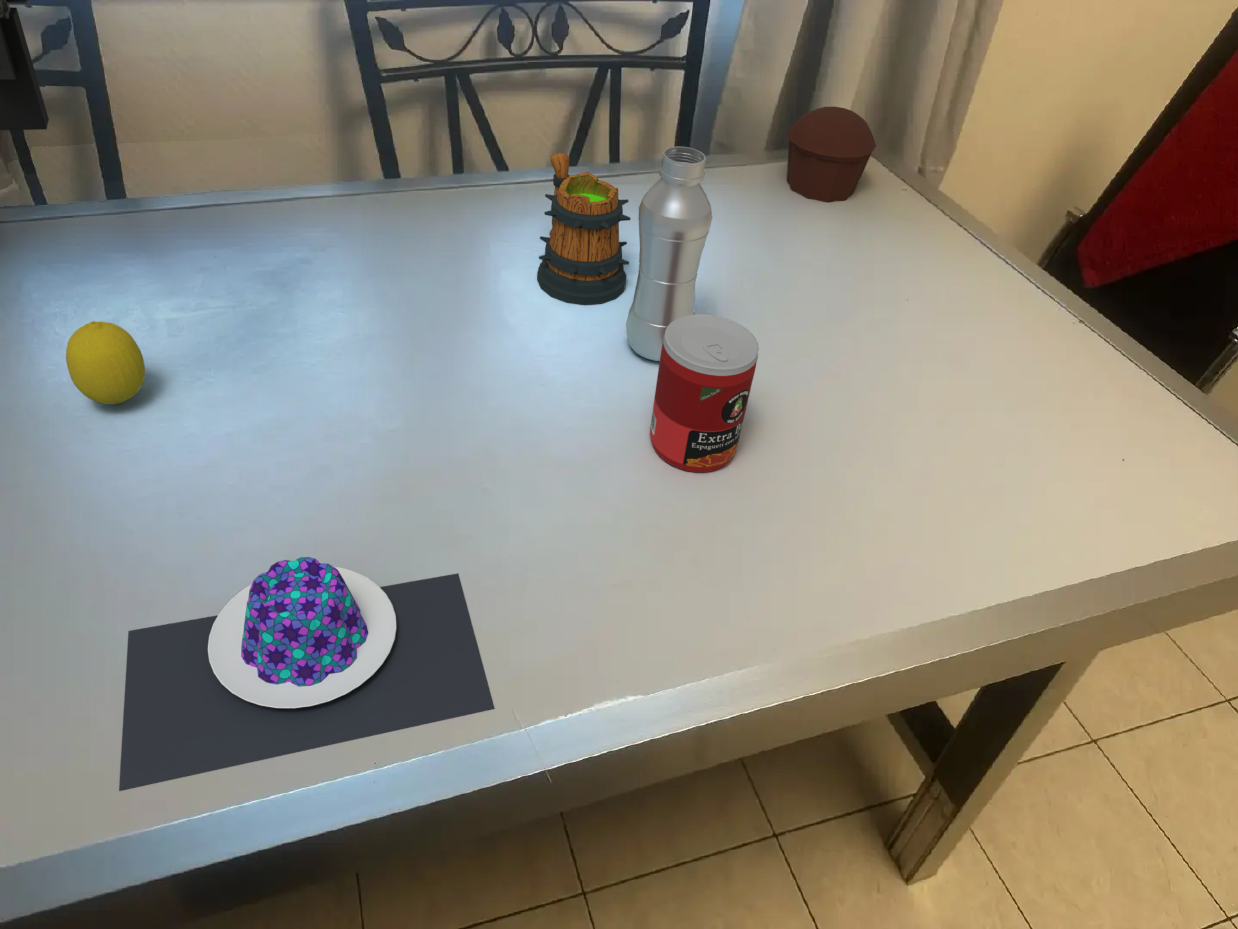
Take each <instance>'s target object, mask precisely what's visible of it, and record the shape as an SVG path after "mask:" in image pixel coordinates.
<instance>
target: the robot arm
mask: <svg viewBox="0 0 1238 929" xmlns="http://www.w3.org/2000/svg"><path fill="white" fill-rule="evenodd" d="M10 4H22V5H24V4H27V5H28V4H30V0H0V131H34V130H35V131H36V130H47V129H48V125H49V120H50V118H49V115H48V112H47V108H46V105H45V101H44V97H43V93H42V90H41V87H40V83H39V81H38V76H37V73H36V70H35V67H34V63H33V59H32V56H31V52H30V49H29V46H28V42H27V39H26V37H25V32H24V29H23V26H22V21H21V19H20V15H19V14H20V13H19V12H18V8H17V7H11V6H10Z"/></svg>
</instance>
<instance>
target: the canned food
mask: <svg viewBox="0 0 1238 929" xmlns="http://www.w3.org/2000/svg"><path fill="white" fill-rule="evenodd" d="M759 349H760V347H759V342H758V340H757V337H755V335H754V334H753V333H752V332H751V331H750V330H748V329H747V328H746V327H745V326H743V325H742V324H740V323H738V322H736V321H734V320H732V319H729V318H726V317H724V316H719V315H715V314H708V313H707V314H706V313H705V314H704V313H694V315H687V316H683V317H680V318H678V319H676V320H674V321H673V322H671V323H670V324H669V325H668V327H667V328H666V331H665V335H664V337H663V343H662V349H661V355H660V361H659V364H658V371H657V377H656V385H655V391H654V399H653V406H652V412H651V419H650V421H651V422H650V427H649V437H650V441H651V445H652V448H653V450H654V452H655V453H656V455H658V457H660V459H661V460H663V461H664V462H666V463H667V464H669V465H670V466H672V467H675V468H676V469H679V470H683V471H686V472H692V473H709V472H713V471H717V470H720V469H721V468H723V467H725V466H726V465H728V463H730V461H731V460H732V459H733V457H734V455H735V453H736V452H737V449H738V445H739V442H740V436H741V432H742V428H743V424H744V419H745V415H746V411H747V406H748V402H749V398H750V394H751V389H752V385H753V382H754V376H755V372H756V369H757V362H758V359H759Z"/></svg>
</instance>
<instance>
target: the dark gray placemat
mask: <svg viewBox="0 0 1238 929" xmlns="http://www.w3.org/2000/svg"><path fill="white" fill-rule="evenodd" d="M379 587H380V588H381V589H382V590H383V591H384V592H385V593H386V595H387V597H388V598H389V600H390V602H391V603H392V606H393V609H394V612H395V615H396V633H395V639H394V642H393V645H392V647H391V650H390V652H389V654H388V656H387V657H386V659H385V660H384V662H383V664H382V665H381V666H380V667H379V668H378V669H377V670H376V672H375V673H374V674H373V675H372V676H371V677H369V678H368V679H367V680H366V681H365V682H363V683H362V684H361V685H360V686H358V687H356V688H355V689H353V690H351V691H350V692H348V693H346V694H345V695H342V696H340V697H338V698H335V699H333V700H330V701H328V702H324V703H320V704H317V705H313V706H307V707H299V708H274V707H267V706H261V705H258V704H255V703H252V702H249V701H246V700H244V699H242V698H240V697H238V696H237V695H235V694H233V693H232V692H231V691H229V690H228V689H227V688H226V687H225V686H224V685H222V684H221V682H220V681H219V679H218V678H217V677H216V675H215V674H214V672H213V669H212V667H211V664H210V662H209V655H208V642H209V635H210V632H211V629H212V626H213V624H214V622H215V620H216V618H217V617H218V615H219V614H217V615H212V616H206V617H200V618H195V619H189V620H182V621H177V622H172V623H165V624H160V625H154V626H147V627H144V628H138V629H131V630H128V634H127V647H126V648H127V651H126V664H125V666H126V667H125V682H124V685H125V686H124V701H123V715H122V716H123V717H122V733H121V734H122V735H121V749H120V769H119V785H118V792H122V791H126V790H132V789H135V788H141V787H145V786H149V785H154V784H158V783H163V782H168V781H172V780H177V779H181V778H186V777H191V776H196V775H200V774H204V773H205V774H206V773H210V772H213V771H218V770H222V769H223V770H224V769H227V768H228V769H229V768H232V767H237V766H240V765H246V764H250V763H255V762H259V761H263V760H269V759H273V758H277V757H282V756H286V755H291V754H296V753H301V752H305V751H309V750H315V749H318V748H323V747H328V746H333V745H337V744H341V743H345V742H351V741H355V740H360V739H365V738H369V737H373V736H379V735H383V734H387V733H392V732H396V731H401V730H405V729H410V728H415V727H418V726H419V727H420V726H424V725H428V724H433V723H436V722H441V721H446V720H452V719H455V718H461V717H465V716H468V715H473V714H478V713H484V712H487V711H492V710H495V709H496V708H495V704H494V701H493V698H492V694H491V689H490V686H489V682H488V679H487V675H486V671H485V668H484V663H483V661H482V657H481V652H480V649H479V646H478V642H477V638H476V634H475V631H474V627H473V623H472V619H471V615H470V611H469V608H468V604H467V601H466V597H465V593H464V590H463V585H462V582H461V578H460V575H459V573H451V574H447V575H440V576H435V577H428V578H424V579H417V580H412V581H407V582H400V583H395V584H389V585H383V586H379Z"/></svg>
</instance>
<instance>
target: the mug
mask: <svg viewBox="0 0 1238 929" xmlns="http://www.w3.org/2000/svg"><path fill="white" fill-rule="evenodd" d="M549 161H550V165H551V166H552V169H553V170H554V174H553V175H552V176H553V178H552V185H553V186H554V191H553V194H549V193H546V194H544V197H545V198H547V199H548V200H549V201H551V205H550V210H547V211H544V212H543V213H544V216H548V217H551V228H550V231H549V233H548V235H549V237H548V236H539V240H541V241H543V242H544V243H545V247H544V254H543V255H539V256H538V259H539V260H540V261H541V260H542V261H541V262H540V263H539V266H538V269H537V271H536V281H537V283H538V286H539V287H540V289H541V290H542V291H543V292H544V293H546V294H547V295H548V296H550V297H551V298H553V299H556V300H558V301H562V302H564V303H568V304H573V305H574V304H575V305H580V306H581V305H583V306H589V305H590V306H591V305H601V304H605V303H608V302H610V301H614V300H616V299H617V298H618V297H620V295H622V294H623V293H624V292H625V289H626V284H627V277H628V276H627V273H626V272H625V269H624V268H625V265H626V266H627V265H630V262H629V260H626V259H624V258H623V247H624V246H626V245H627V244H628V242H627V241H620V222H625V221H631V219H632V218H631V217H630V216H628V215H626V214H624V208H623V206H624V205H626V204H627V203H629V202H630V201H629V199H627V198H626V199H620V198H619V188H618V187H616V186H614V185H612V184H610V183H609V182H607V181H603V180H601V179H599V177H597V176H596V175H594V174H592V173H591V172H589V171H585V172H582V173H577V174H571V175H569V170H570V157H569V155H568V153H567V152H557V153H554V154H551V155H550V158H549Z"/></svg>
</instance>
